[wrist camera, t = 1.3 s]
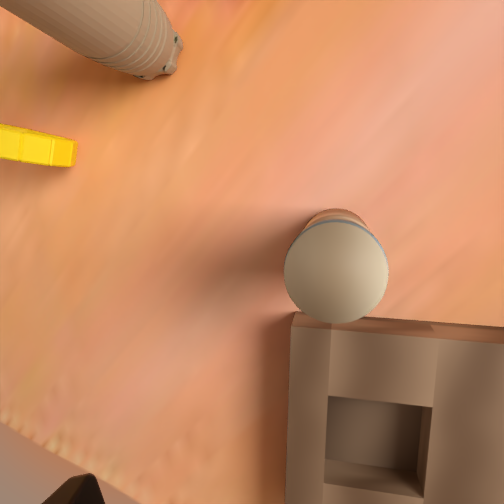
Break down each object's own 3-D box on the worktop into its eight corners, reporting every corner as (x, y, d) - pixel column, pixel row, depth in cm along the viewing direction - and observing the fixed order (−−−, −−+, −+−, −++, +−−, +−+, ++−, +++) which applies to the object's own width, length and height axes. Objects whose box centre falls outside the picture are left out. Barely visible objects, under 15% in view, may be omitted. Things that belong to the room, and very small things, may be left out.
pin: (373, 208, 22) (393, 223, 14) (369, 278, 22) (386, 329, 15) (302, 206, 22) (283, 219, 15) (299, 273, 23) (281, 320, 15)
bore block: (672, 340, 20) (718, 362, 18) (629, 556, 22) (665, 602, 20) (295, 311, 23) (291, 326, 21) (288, 500, 25) (283, 534, 23)
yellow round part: (9, 159, 26) (-92, 151, 20) (13, 113, 25) (-90, 91, 20) (91, 181, 25) (8, 178, 19) (98, 133, 24) (14, 115, 18)
